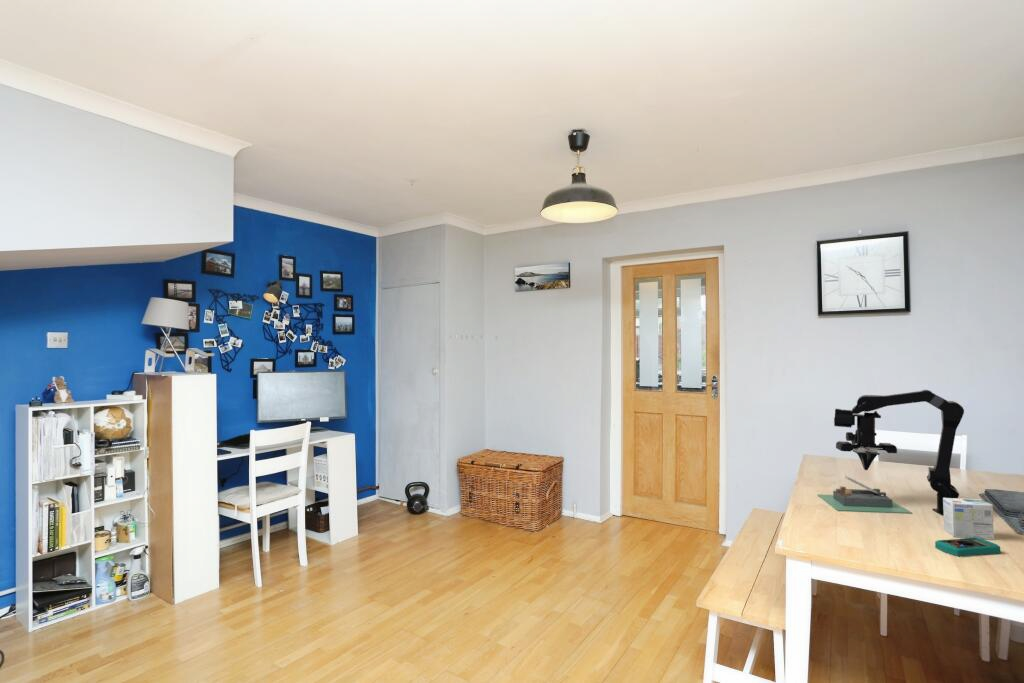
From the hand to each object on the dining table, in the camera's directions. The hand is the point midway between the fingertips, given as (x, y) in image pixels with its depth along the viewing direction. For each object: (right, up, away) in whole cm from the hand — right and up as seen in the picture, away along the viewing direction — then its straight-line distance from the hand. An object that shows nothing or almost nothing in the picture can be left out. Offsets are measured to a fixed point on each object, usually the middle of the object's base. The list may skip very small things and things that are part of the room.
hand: (865, 469), depth 201 cm
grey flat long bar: (-2, -6, -1) cm, 6 cm away
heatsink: (-2, -13, -1) cm, 13 cm away
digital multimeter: (-1, -13, -46) cm, 48 cm away
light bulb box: (+10, -13, -34) cm, 37 cm away
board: (-2, -13, -1) cm, 13 cm away
